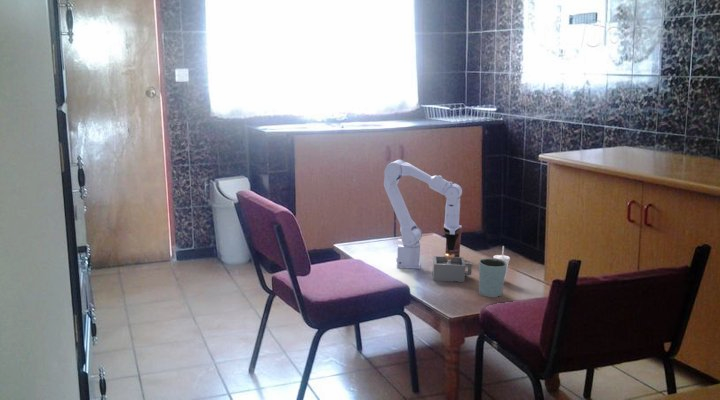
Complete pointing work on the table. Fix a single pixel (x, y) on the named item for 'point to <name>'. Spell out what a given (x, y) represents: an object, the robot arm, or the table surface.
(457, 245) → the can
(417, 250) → the robot arm
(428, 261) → the table surface
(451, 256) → the plunger
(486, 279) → the teal plant pot
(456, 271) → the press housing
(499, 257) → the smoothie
